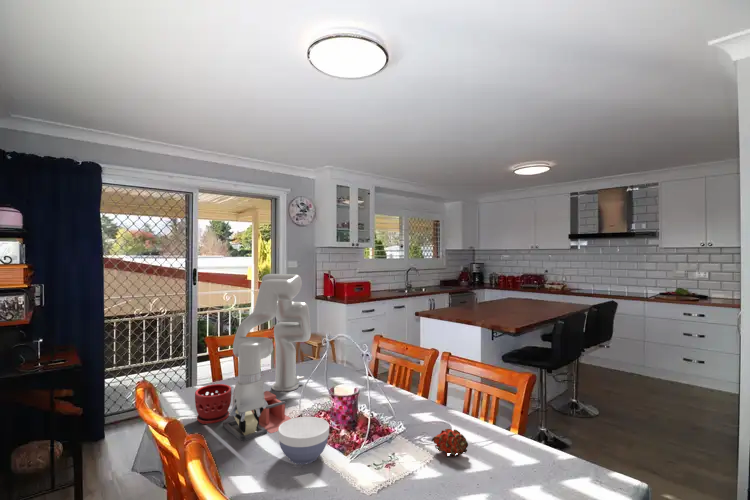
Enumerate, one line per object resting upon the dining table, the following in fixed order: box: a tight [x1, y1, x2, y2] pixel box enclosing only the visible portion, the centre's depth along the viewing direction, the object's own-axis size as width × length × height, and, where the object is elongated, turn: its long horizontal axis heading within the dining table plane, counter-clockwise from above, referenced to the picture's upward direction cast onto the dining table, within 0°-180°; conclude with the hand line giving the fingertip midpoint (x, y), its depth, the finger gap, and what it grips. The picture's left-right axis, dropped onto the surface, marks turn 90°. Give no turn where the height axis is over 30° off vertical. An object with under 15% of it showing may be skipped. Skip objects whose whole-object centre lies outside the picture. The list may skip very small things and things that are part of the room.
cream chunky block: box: [233, 410, 258, 436], centre depth 142 cm, size 10×4×5 cm, turn 42°
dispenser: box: [251, 390, 292, 434], centre depth 152 cm, size 22×12×8 cm, turn 43°
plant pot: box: [194, 383, 232, 425], centre depth 153 cm, size 13×13×12 cm
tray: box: [222, 419, 268, 442], centre depth 143 cm, size 9×16×2 cm, turn 43°
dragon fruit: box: [431, 428, 469, 456], centre depth 128 cm, size 8×8×12 cm
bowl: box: [277, 416, 330, 465], centre depth 126 cm, size 16×16×10 cm
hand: (248, 428), depth 140 cm, fingers closed on cream chunky block, 4 cm apart
